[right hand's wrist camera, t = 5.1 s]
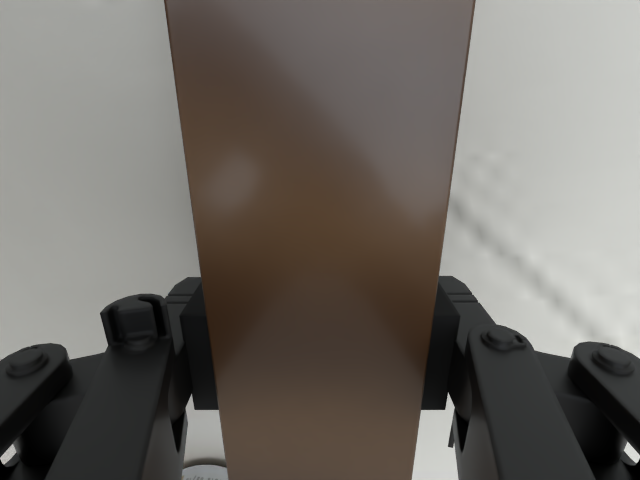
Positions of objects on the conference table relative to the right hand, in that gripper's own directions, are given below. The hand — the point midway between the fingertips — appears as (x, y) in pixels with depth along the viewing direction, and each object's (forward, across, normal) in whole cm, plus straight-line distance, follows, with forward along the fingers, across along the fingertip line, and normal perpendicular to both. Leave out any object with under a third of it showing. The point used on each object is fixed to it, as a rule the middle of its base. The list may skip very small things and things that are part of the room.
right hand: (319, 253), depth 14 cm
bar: (+1, 0, -24) cm, 24 cm away
